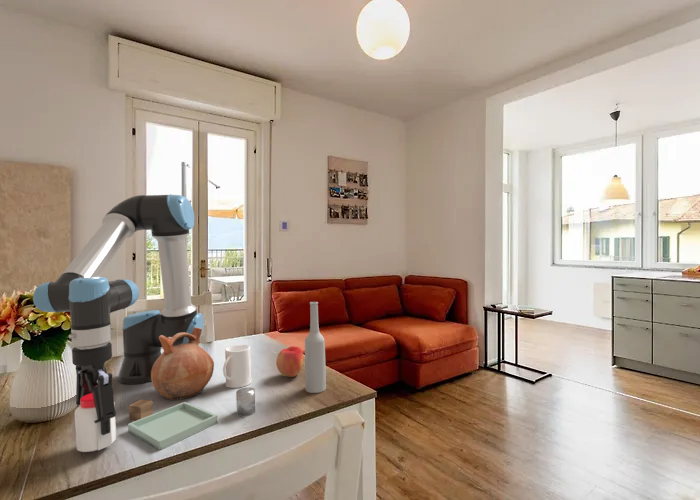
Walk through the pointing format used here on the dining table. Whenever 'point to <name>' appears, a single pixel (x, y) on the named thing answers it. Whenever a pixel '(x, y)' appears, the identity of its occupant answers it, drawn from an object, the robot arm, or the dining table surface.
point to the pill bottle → (88, 425)
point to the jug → (182, 367)
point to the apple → (290, 361)
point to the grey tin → (245, 401)
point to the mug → (237, 366)
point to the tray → (172, 425)
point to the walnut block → (140, 409)
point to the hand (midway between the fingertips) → (96, 441)
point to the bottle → (315, 355)
